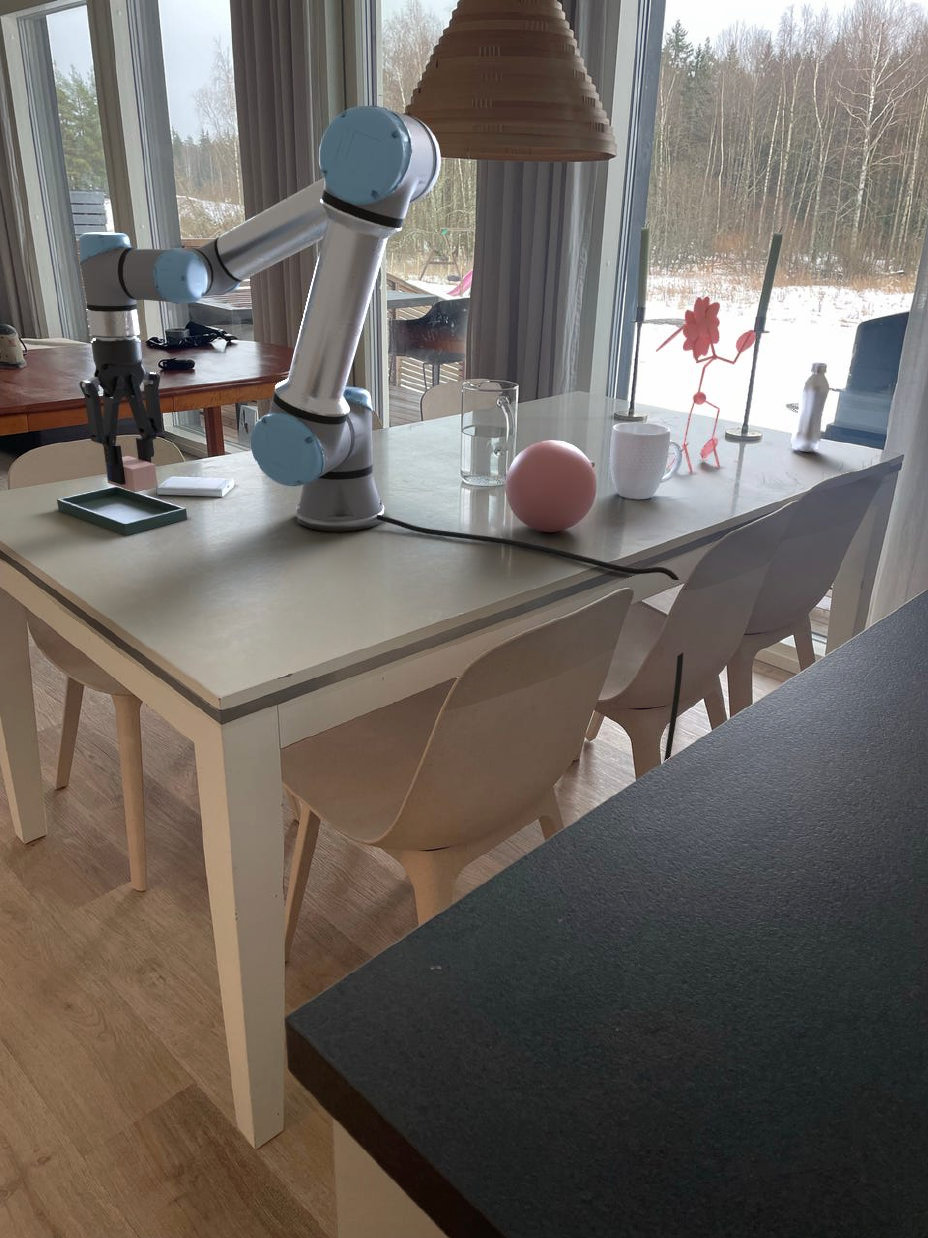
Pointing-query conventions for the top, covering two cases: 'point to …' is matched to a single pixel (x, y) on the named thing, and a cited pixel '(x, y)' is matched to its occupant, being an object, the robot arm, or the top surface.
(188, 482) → the hard drive
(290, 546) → the top surface
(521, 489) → the balloon
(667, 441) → the mug
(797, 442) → the plastic bottle
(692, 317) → the figurine
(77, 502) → the tray
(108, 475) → the eraser
